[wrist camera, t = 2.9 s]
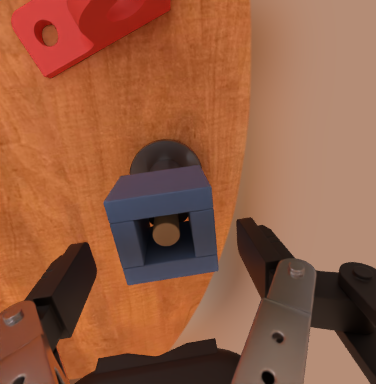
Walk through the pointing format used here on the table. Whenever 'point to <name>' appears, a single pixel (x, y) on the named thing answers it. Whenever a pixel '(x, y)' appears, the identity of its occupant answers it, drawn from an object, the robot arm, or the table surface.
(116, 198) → the holed block
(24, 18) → the bracket
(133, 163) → the dowel stand
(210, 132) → the table surface
